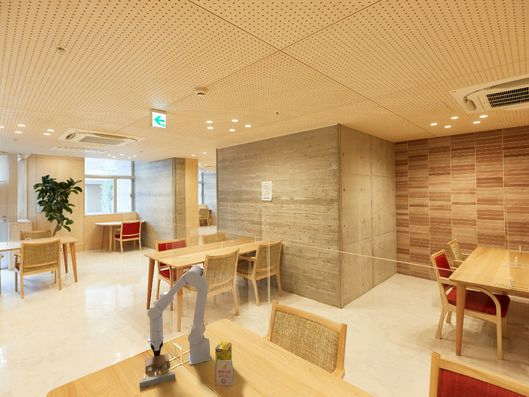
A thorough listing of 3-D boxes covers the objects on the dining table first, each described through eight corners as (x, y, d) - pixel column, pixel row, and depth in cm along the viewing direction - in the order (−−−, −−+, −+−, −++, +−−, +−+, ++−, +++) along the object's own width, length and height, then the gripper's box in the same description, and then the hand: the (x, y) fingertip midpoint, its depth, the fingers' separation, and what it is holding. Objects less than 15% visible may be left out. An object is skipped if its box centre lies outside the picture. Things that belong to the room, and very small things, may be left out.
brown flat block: (168, 358, 132) (168, 353, 132) (169, 369, 124) (169, 364, 124) (145, 363, 128) (145, 358, 128) (145, 375, 120) (145, 369, 120)
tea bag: (217, 379, 118) (217, 356, 117) (233, 380, 117) (233, 357, 116) (215, 385, 114) (215, 362, 113) (231, 386, 113) (231, 363, 113)
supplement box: (228, 373, 121) (227, 349, 120) (215, 372, 122) (214, 348, 122) (232, 365, 127) (232, 342, 126) (220, 363, 128) (219, 340, 127)
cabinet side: (174, 372, 122) (174, 367, 122) (175, 378, 118) (175, 373, 118) (140, 380, 117) (139, 375, 117) (139, 388, 113) (139, 382, 113)
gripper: (147, 323, 136) (148, 350, 137) (147, 338, 123) (147, 368, 123) (162, 321, 139) (163, 347, 139) (163, 335, 125) (164, 364, 126)
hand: (157, 356), depth 132 cm, fingers closed
